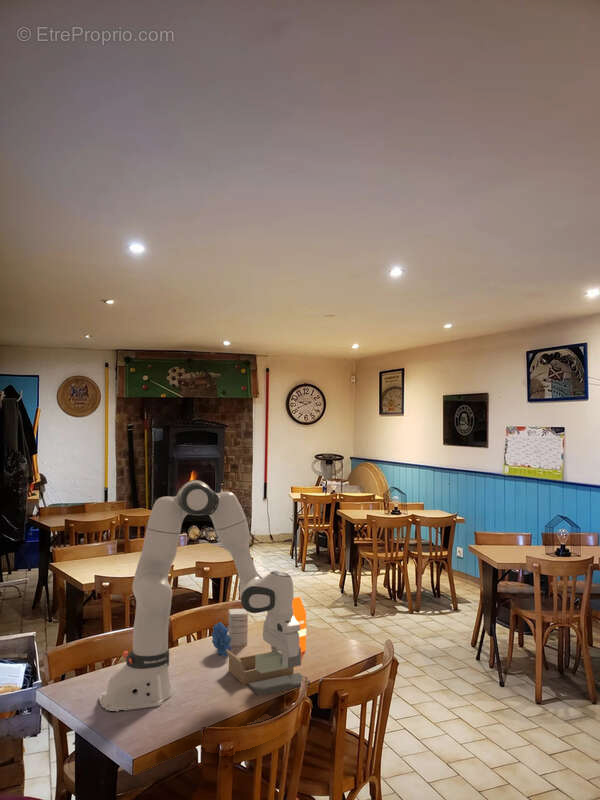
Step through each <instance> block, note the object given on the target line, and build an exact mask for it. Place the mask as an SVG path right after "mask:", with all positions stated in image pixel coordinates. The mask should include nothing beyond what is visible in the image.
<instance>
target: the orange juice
mask: <svg viewBox="0 0 600 800" xmlns="http://www.w3.org/2000/svg"><path fill="white" fill-rule="evenodd" d="M292 607H293V615H294V617H295V619H296V620H297V622H298V623H299V624H300V631H298V633H299V637H300V645H299V646H300V647H301V653H303V652H306V651H307V611H306V609H305V607H304V604H303V601H302V599H301V597H300V596H299V597H293V602H292ZM305 650H306V651H305ZM302 651H303V652H302Z"/></svg>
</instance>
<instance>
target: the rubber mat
mask: <svg viewBox="0 0 600 800" xmlns="http://www.w3.org/2000/svg"><path fill="white" fill-rule="evenodd" d="M303 677H304V676H303V675H302V674H301V673H299V672H296V673H294V674H290V675H285V676H281V677H276V678H271V679H267V680H262V681H257V682H252V683H248V687H249V688H250V689H251V690H252V691H254V692H255V693H256V694H257V695H258V696H263V695H268V694H272V693H277V692H280V691H285V690H290V689H294V688H298V687H299V688H300V687H301V686H300V685H301V681H302V678H303ZM308 683H309V684H308V685H311V681H310V680H309V679H308Z"/></svg>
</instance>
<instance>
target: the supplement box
mask: <svg viewBox="0 0 600 800" xmlns="http://www.w3.org/2000/svg"><path fill="white" fill-rule="evenodd" d="M248 613H249V612H248V611H246V610H245V609H244V608H231V609H228V628H227V629H228V633H227V634H228V635H229V636H230V637H231V642H230V643H229V644H230V645H231V647H239V646H240V647H241V646H248V627H249V626H248V625H249V624H248V623H249V622H248V621H249V614H248Z"/></svg>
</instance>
